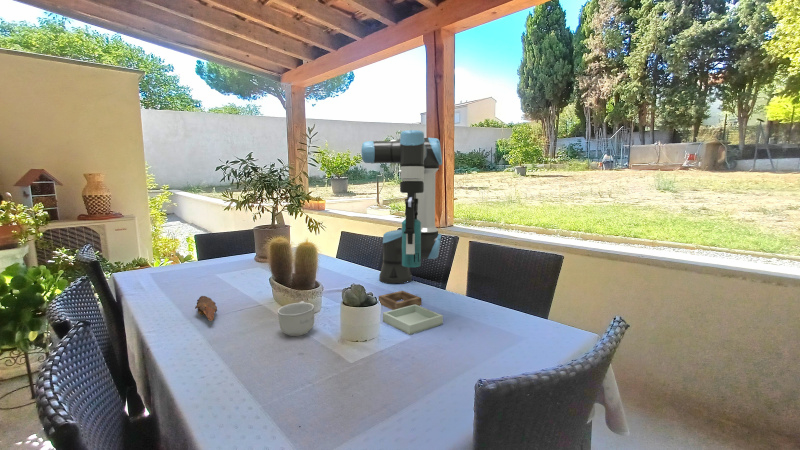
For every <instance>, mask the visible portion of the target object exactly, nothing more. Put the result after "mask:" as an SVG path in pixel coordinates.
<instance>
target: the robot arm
mask: <svg viewBox="0 0 800 450" xmlns="http://www.w3.org/2000/svg"><path fill="white" fill-rule="evenodd" d="M399 137H400V138H397V139H392V140H370V141H369V140H367V141H364V142H363V143H362V145H361V150H360V151H361V152H360V153H361V160H362V161H363V162H364V163H365V164H397V165H400V166H399V167H400V168H399V170H398V171H397V172H398V173H399V174H400V176H399V177H400V178H399V179H401V180H402V181H400V182H399V191H400V193H402V194H407V195H406V196H407V197H406V198H405V199H404V204H405V208H404V209H405V211H406V215H405V219H406V229H405V231H404V234H406V254H415V234H414V233H415V231H414V224H415V219H418V220H419V221H420V222H421V260H422V259H423V260H435V259H438V257H439V253H440V248H441V247H440V246H441V239H442V233H439V229H438V228H437V226H436V173H437V172H439V171H438V170H439V169H440V166H442V165H443V156H442V154H443V153H442V147H441V142H440V139H438V138H436V137H425V133H424V131H422V130H417V129H409V130H408V129H407V130H402V131H401V132H400V136H399ZM405 211H404V212H405ZM416 212H418V215H416V216H415V213H416ZM401 255H402V229H395V230H394V229H393V230H390V231H387V232H385V233H384V234H383V236H382V266H381V269H380V273H379V277H378V278H379V279H378V280H379V281H380V282H381V283H383V282H384V283H385V284H389V283H402V284H405V283H404V282H407V281H410V282H411V281H413V279H412V278H413V277H412V272H411V269H410V268H411V267H404V266H402V262H401V261H402V259H401V258H402V257H401ZM407 283H408V282H407Z"/></svg>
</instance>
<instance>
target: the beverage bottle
mask: <svg viewBox="0 0 800 450" xmlns="http://www.w3.org/2000/svg"><path fill="white" fill-rule="evenodd" d="M416 215H418V212H416V213H415V216H416ZM404 216H406V211H404ZM405 229H406V218H405V219H404V220H402V222H401V230H402V255H401V257H402V258H401V259H402V261H401V262H402V266H404V267H409V268H419V267H421V265H422V259H421V222H420V221H419V220H418V219H415V224H414V231H415V233H414V234H415V254H406V234H404V231H405Z"/></svg>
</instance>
